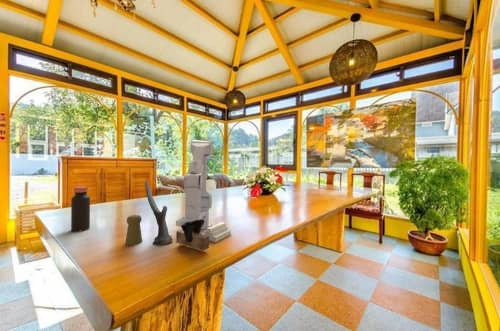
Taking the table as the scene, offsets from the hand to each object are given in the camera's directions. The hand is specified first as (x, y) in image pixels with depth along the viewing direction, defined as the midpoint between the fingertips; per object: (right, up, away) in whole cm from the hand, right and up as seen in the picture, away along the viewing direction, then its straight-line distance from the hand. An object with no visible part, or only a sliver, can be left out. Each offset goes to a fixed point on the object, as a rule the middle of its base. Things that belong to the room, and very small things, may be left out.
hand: (192, 240), depth 79 cm
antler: (-16, -3, +5) cm, 17 cm away
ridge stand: (+7, -3, +13) cm, 15 cm away
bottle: (-58, -2, +18) cm, 60 cm away
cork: (-25, -3, +4) cm, 26 cm away
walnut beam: (0, -2, 0) cm, 2 cm away
